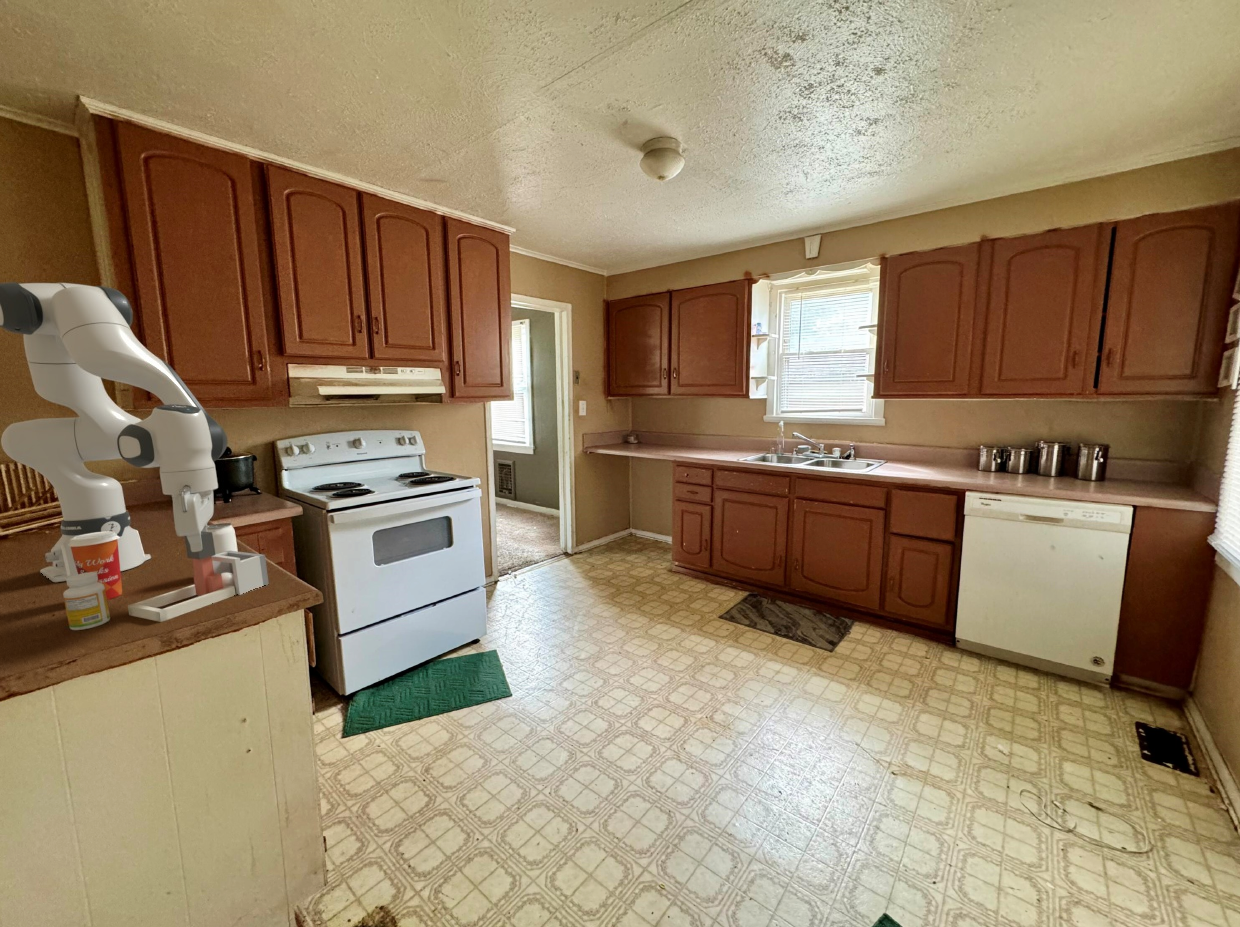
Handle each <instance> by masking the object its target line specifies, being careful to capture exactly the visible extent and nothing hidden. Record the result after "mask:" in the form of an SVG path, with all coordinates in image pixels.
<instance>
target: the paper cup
mask: <svg viewBox="0 0 1240 927" xmlns="http://www.w3.org/2000/svg"><path fill="white" fill-rule="evenodd" d="M119 538H120V537H119V536H117V534H115V532H113V531H104V532H95V533H89V534H84V535H79V536H75V537H74V538H72V539H70V543H69V544H68V546H70V547H71V551H72V554H73V558H74V562H75V565H76V569H77V572H78V574H82V573H89V572H96V573H97V577H98V580H97V581H96V582H97V583H102V584H103V585H104V587H105V592H106V597H107V601H109V600H111V599H115V598H117V597H120V596H122V594H123V587H122V586H123V585H122V575H121V574H122V573H121V572H122V571H120V561H119V551H118V540H117V539H119Z"/></svg>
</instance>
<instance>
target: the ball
mask: <svg viewBox="0 0 1240 927" xmlns="http://www.w3.org/2000/svg"><path fill="white" fill-rule="evenodd" d="M221 575H222V582H223V588H226V587H229V586H234V587H235V581H234V574H232V573H228V572H226V573H222V574H221Z"/></svg>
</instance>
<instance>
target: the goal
mask: <svg viewBox="0 0 1240 927" xmlns="http://www.w3.org/2000/svg"><path fill="white" fill-rule="evenodd" d="M212 562H213V569H214V573H216V574H222V573H226V572H228V573H232V574H234V581H235V586H234V587H235V594H236V595H237V594H238V595H237V596H242V595H244V594H247V593H248V591H250V590H252V591H254V590H253V589H255V588H258V589H260V588H259V587H261V588H263V587H262V586H264V585H266V586H269V585H270V583H269V576H268V569H267V568H268V566H267V560H266V554H262V553H261V554H259V553H253V552H243V551H238V552H237V551H227V552H223V553H220V554H216V555H214V556H212ZM268 584H269V585H268ZM264 587H265V586H264ZM255 590H256V589H255ZM246 592H247V593H246ZM250 592H251V591H250ZM243 593H244V594H243Z"/></svg>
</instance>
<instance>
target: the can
mask: <svg viewBox="0 0 1240 927" xmlns="http://www.w3.org/2000/svg"><path fill="white" fill-rule="evenodd" d="M232 525H233V524H232V522H220V523H214V524H209V525H208V524H207V532H212V534H213V541H214V548H215V554H220V553H223V552H227V551H237V552H239V551H238V545H237V536H236V532H235V528H234V526H232Z"/></svg>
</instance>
